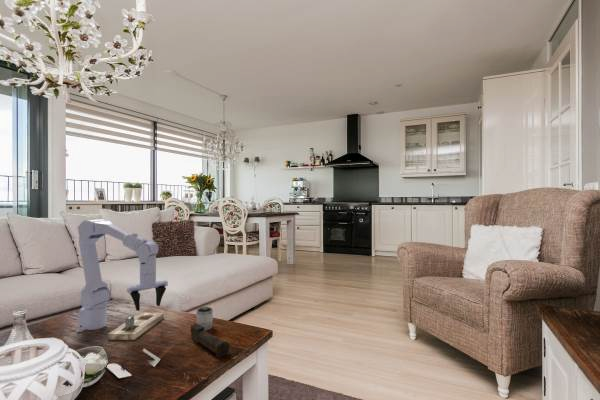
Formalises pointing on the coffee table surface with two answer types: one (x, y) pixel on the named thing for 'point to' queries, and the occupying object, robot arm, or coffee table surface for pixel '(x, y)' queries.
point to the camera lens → (205, 317)
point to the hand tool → (209, 340)
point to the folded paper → (121, 371)
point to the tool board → (136, 326)
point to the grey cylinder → (129, 323)
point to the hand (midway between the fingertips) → (148, 307)
